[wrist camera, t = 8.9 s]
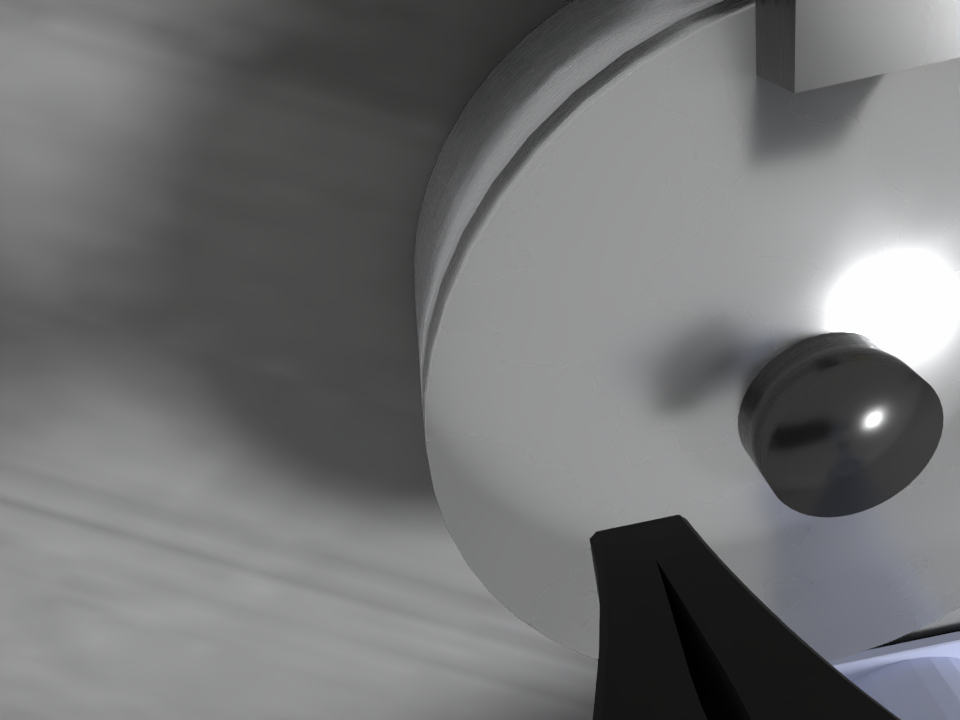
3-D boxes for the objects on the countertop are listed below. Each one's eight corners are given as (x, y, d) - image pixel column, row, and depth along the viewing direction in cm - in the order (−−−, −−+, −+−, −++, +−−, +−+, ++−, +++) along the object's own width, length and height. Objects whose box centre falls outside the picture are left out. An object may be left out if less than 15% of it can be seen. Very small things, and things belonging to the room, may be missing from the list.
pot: (955, 440, 23) (1084, 564, 19) (473, 539, 23) (492, 686, 19) (1120, -733, 12) (1519, -1071, 8) (205, -533, 12) (107, -759, 8)
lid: (1084, 564, 19) (1164, 639, 17) (494, 698, 19) (508, 787, 17) (1474, -902, 8) (1793, -1134, 7) (138, -629, 8) (70, -784, 6)
